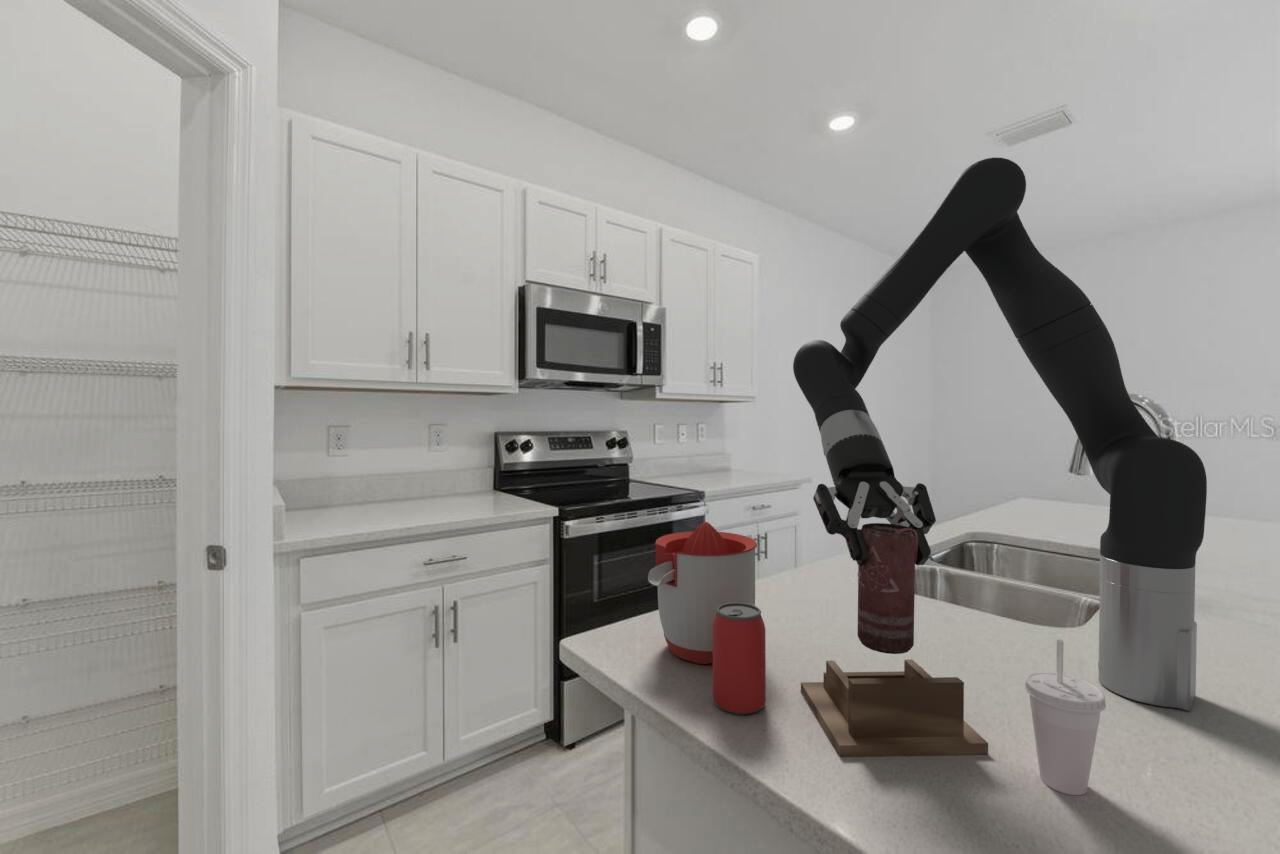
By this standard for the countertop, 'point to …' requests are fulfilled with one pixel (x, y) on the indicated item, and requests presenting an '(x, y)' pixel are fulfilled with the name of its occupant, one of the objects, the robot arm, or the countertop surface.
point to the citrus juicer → (700, 585)
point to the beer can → (739, 658)
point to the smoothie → (1064, 726)
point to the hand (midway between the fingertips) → (893, 561)
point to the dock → (892, 713)
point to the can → (887, 588)
